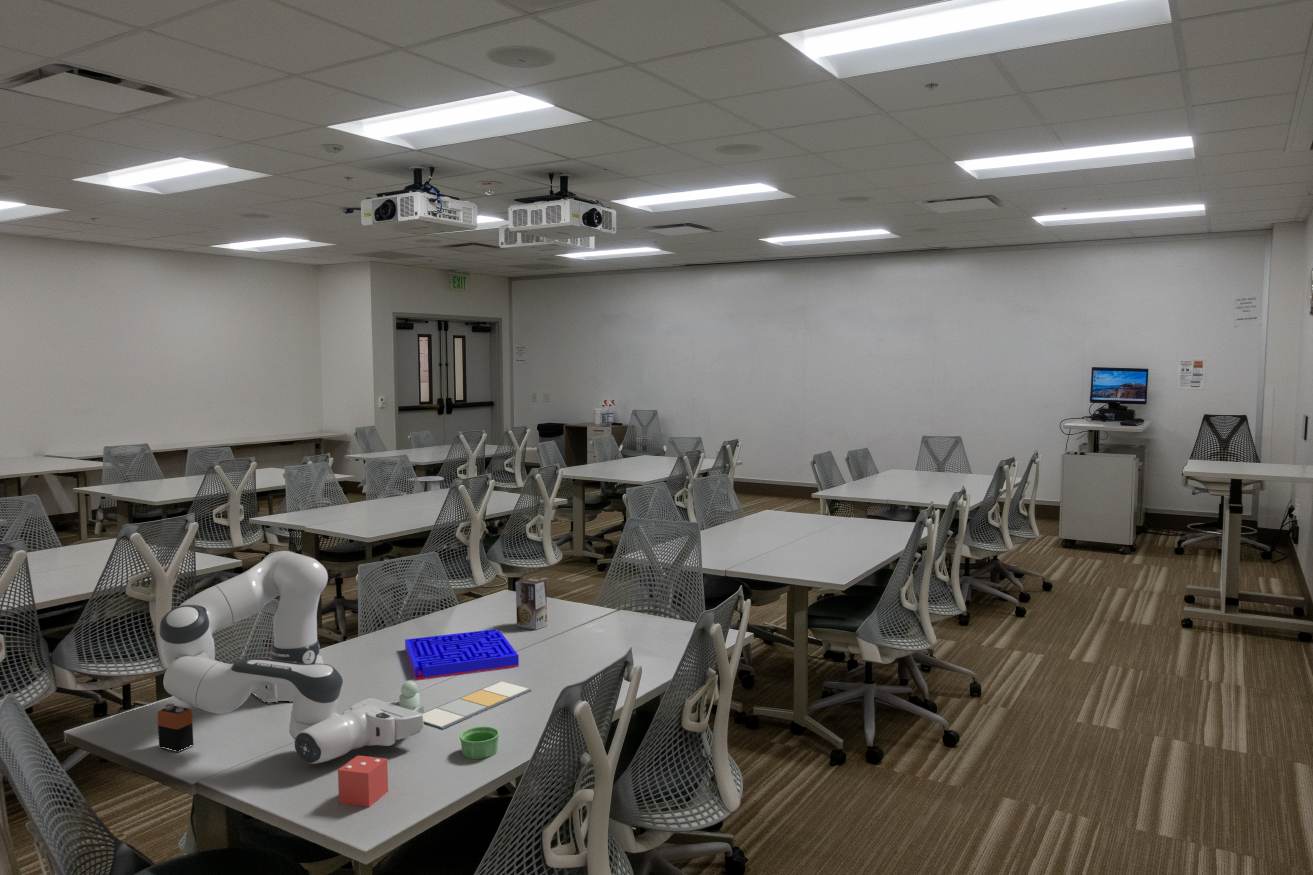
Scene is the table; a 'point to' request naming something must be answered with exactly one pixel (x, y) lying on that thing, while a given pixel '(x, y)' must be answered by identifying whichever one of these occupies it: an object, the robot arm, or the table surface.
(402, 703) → the pawn
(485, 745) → the ramekin
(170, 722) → the battery
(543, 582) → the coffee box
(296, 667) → the robot arm
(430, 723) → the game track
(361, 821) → the table surface
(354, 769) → the red die
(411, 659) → the maze
